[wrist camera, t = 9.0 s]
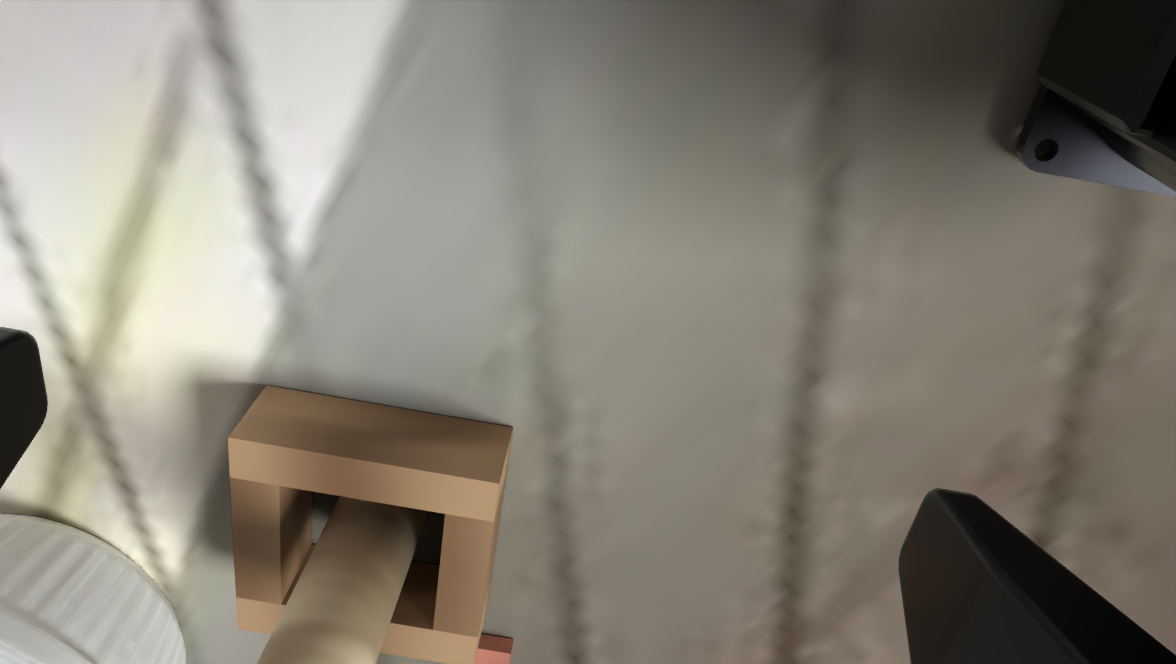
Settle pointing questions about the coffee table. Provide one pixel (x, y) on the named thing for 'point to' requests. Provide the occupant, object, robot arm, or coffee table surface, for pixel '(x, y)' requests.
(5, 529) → the ramekin
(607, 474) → the coffee table surface
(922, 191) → the coffee table surface
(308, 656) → the dowel
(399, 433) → the wooden square frame
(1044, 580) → the robot arm
